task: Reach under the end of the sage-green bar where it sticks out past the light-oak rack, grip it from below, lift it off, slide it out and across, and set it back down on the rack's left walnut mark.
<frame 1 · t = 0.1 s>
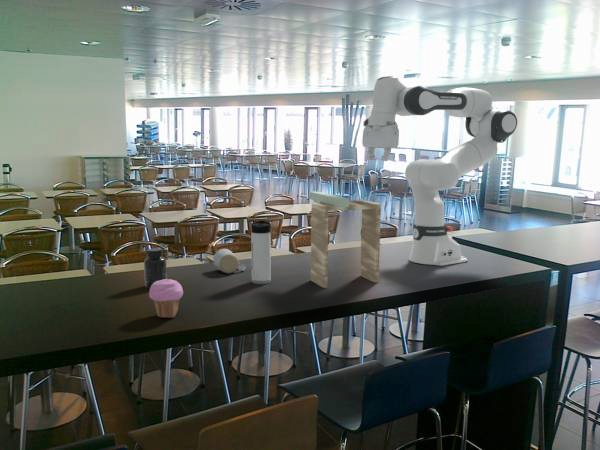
hand: (377, 160, 200), 39 cm above the table, tool pointing down, fingers open, 8 cm apart
bar: (328, 202, 180), point 26 cm above the table, touching rack
rack: (344, 281, 183), on the table
supplement bottle: (156, 287, 175), on the table
ceramic mug: (230, 271, 196), on the table
travel mug: (261, 282, 182), on the table
cupcake: (167, 316, 146), on the table
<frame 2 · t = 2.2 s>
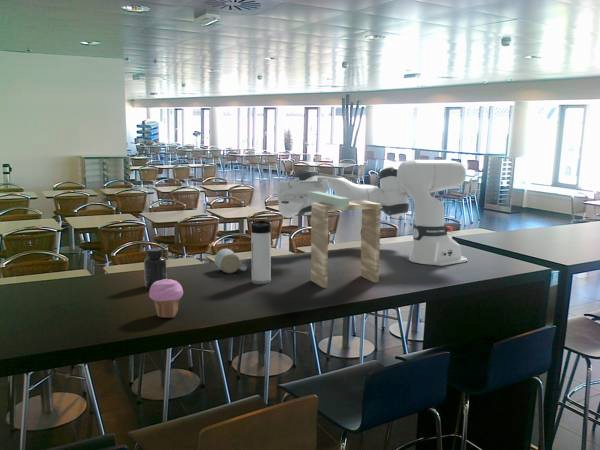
hand: (309, 179, 203), 32 cm above the table, tool pointing upward, fingers open, 8 cm apart
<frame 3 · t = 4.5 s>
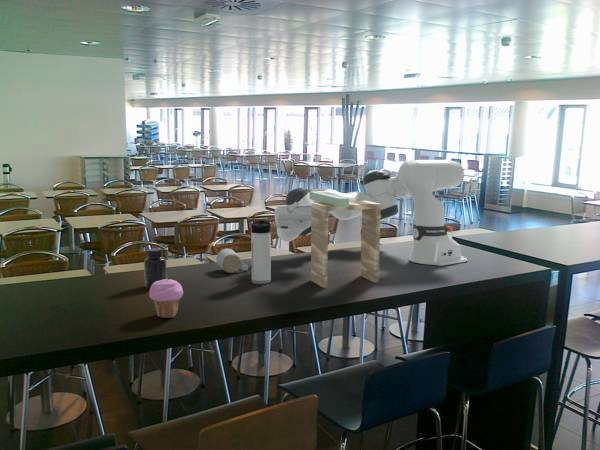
hand: (309, 203, 193), 24 cm above the table, tool pointing upward, fingers open, 8 cm apart
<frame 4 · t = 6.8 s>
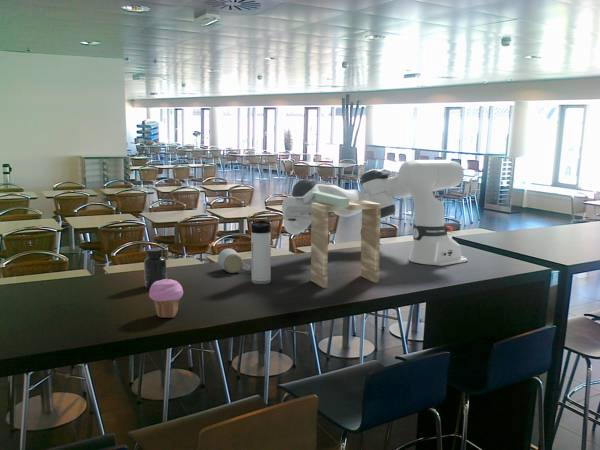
hand: (318, 195, 187), 28 cm above the table, tool pointing upward, fingers closed on bar, 3 cm apart
bar: (328, 202, 180), point 26 cm above the table, touching gripper, rack
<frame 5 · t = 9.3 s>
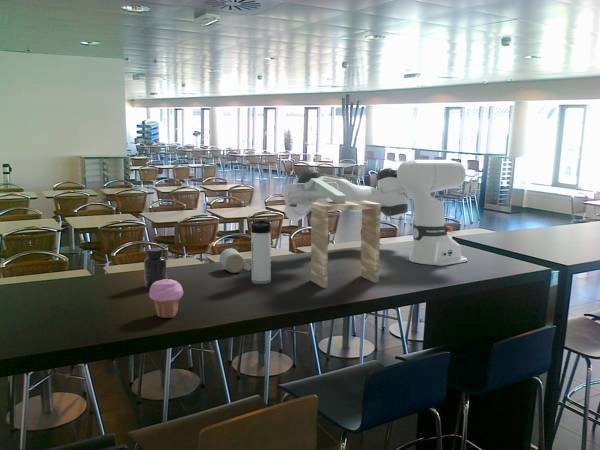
hand: (319, 181, 196), 32 cm above the table, tool pointing upward, fingers closed on bar, 3 cm apart
bar: (326, 193, 190), point 28 cm above the table, tilted 9°, touching gripper, rack
when the fingers open (28 cm above the table, at t = 12.1 s): bar stays where it is, resting on rack.
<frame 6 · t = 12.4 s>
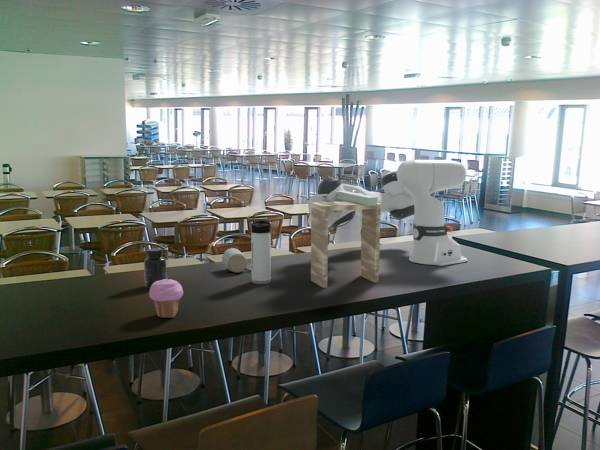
hand: (345, 192, 190), 28 cm above the table, tool pointing upward, fingers open, 5 cm apart
bar: (355, 201, 184), point 26 cm above the table, touching rack
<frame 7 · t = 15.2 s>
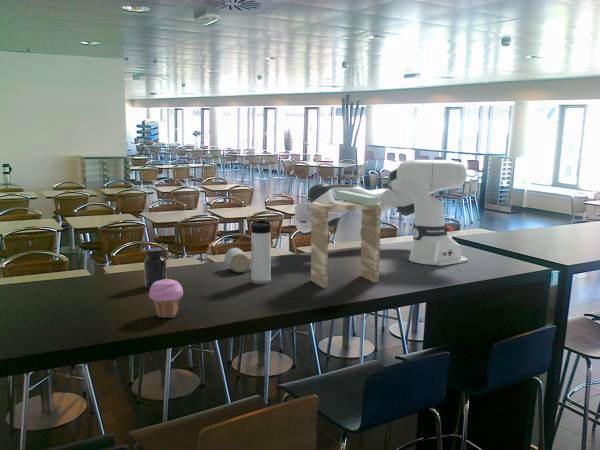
hand: (328, 203, 204), 23 cm above the table, tool pointing upward, fingers open, 8 cm apart
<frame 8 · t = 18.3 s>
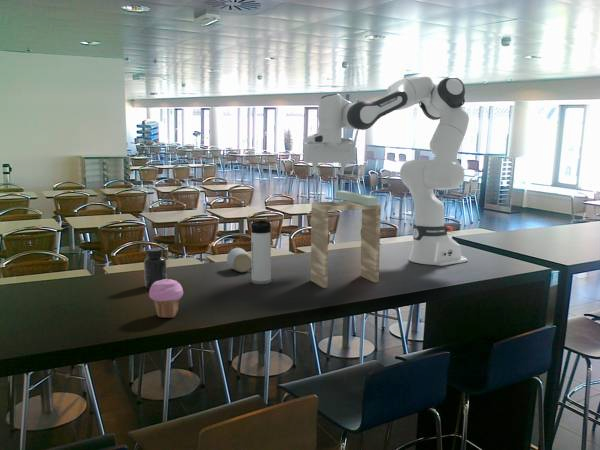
hand: (329, 174, 209), 33 cm above the table, tool pointing down, fingers open, 8 cm apart
at the end: bar inside the target area on the rack (0.7 cm from its centre), point 26.1 cm above the rack's base; the gripper is holding nothing; bar moved 9.9 cm from its start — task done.
